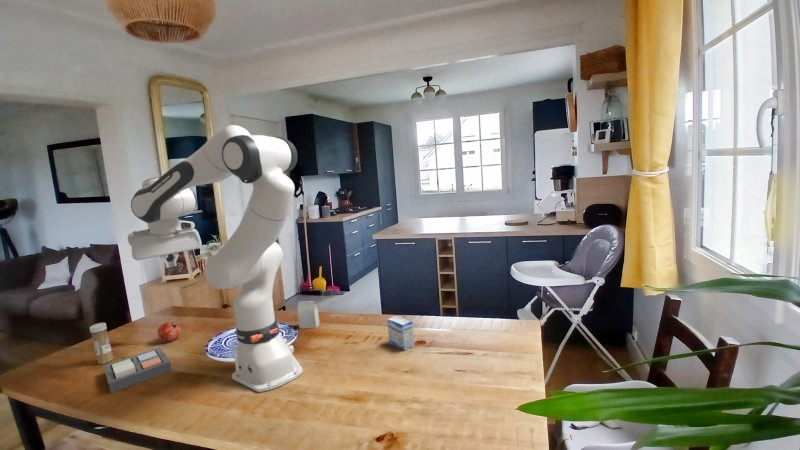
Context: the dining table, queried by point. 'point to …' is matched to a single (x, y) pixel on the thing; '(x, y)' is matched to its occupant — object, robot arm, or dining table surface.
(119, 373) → the key offwhite
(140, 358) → the key bluegrey
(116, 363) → the key sage
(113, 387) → the keypad
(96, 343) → the sprinkles bottle
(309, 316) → the light grey tapered block
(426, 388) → the dining table surface
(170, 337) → the pomegranate
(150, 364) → the key terracotta
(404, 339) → the medicine box
